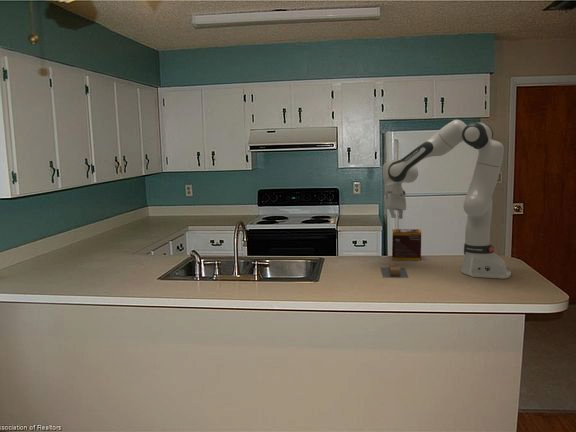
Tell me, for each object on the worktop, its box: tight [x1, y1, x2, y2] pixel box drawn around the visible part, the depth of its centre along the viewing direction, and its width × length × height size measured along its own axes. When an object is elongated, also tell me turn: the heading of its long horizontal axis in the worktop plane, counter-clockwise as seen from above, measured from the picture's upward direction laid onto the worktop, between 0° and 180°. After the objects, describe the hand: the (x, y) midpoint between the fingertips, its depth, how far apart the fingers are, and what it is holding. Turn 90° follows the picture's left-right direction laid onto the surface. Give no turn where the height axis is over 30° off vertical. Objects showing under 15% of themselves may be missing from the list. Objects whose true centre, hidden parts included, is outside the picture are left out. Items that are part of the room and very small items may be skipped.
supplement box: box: [391, 228, 422, 262], centre depth 284 cm, size 10×15×16 cm
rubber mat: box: [380, 266, 409, 279], centre depth 254 cm, size 20×12×1 cm, turn 173°
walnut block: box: [388, 264, 401, 277], centre depth 251 cm, size 4×4×10 cm
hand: (397, 218), depth 268 cm, fingers open, 8 cm apart
